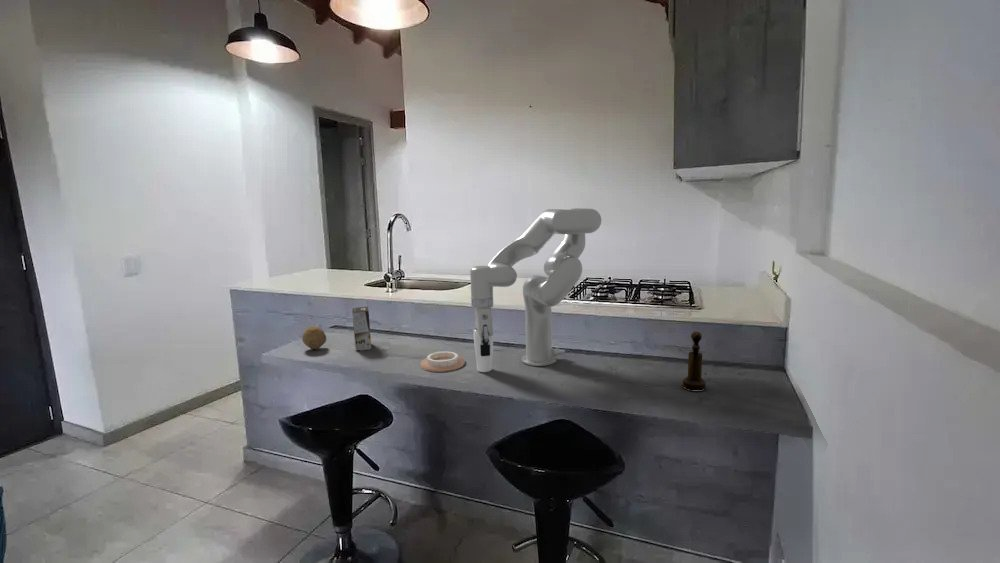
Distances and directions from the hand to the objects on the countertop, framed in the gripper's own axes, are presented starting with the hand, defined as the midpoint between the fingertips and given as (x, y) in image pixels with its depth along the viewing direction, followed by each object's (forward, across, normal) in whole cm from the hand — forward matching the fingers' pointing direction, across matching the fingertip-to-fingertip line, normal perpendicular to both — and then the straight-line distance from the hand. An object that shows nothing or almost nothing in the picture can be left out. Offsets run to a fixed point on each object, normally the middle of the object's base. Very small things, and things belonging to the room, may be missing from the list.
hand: (483, 352), depth 168 cm
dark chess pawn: (+7, -31, -61) cm, 69 cm away
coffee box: (+7, +39, +45) cm, 60 cm away
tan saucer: (+7, +10, +14) cm, 18 cm away
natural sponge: (+7, +41, +64) cm, 77 cm away
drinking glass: (+7, 0, 0) cm, 7 cm away
